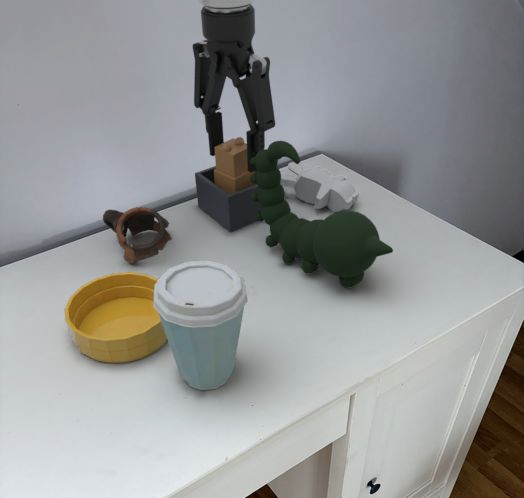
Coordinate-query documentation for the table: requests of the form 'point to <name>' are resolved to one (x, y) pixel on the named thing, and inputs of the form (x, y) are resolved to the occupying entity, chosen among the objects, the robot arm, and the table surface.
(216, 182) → the tan stacked block
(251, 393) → the table surface
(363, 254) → the toy figurine
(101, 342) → the bowl
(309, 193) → the bunny figurine
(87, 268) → the table surface
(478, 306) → the table surface
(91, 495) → the table surface
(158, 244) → the rusty brown ring frame
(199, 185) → the bin
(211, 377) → the disposable coffee cup
